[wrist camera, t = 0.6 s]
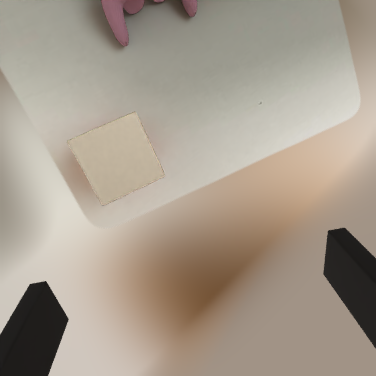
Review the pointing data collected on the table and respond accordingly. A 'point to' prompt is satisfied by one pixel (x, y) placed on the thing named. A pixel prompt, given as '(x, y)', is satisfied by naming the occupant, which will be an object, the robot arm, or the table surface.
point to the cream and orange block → (117, 158)
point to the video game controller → (132, 3)
